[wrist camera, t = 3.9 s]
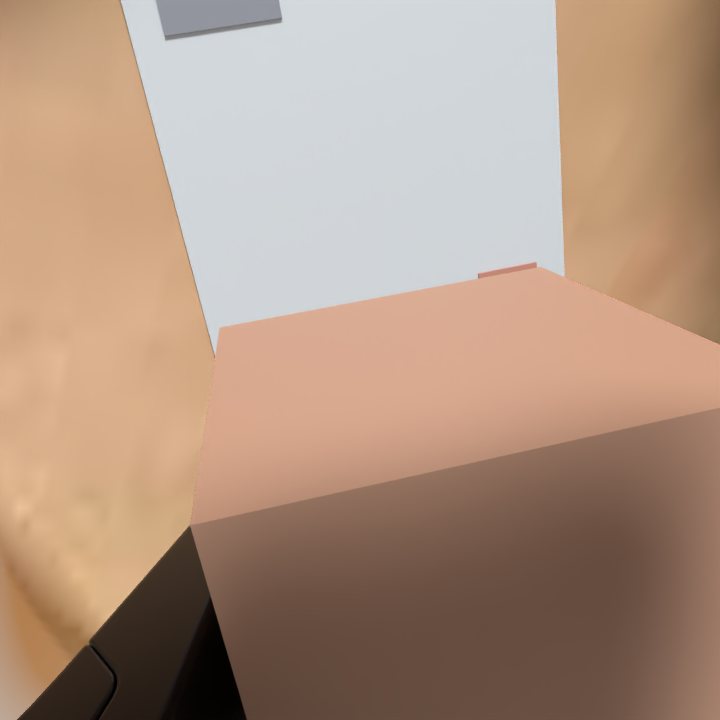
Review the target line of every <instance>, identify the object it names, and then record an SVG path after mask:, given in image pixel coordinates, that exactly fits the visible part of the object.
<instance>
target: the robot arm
mask: <svg viewBox="0 0 720 720" xmlns="http://www.w3.org/2000/svg"><path fill="white" fill-rule="evenodd" d="M17 720H247V718H246V715H245V711H244V708H243V704H242V701H241V697H240V694H239V691H238V687H237V684H236V680H235V677H234V674H233V670H232V667H231V663H230V660H229V657H228V653H227V650H226V646H225V643H224V640H223V636H222V633H221V629H220V626H219V623H218V619H217V616H216V612H215V609H214V606H213V602H212V599H211V595H210V592H209V588H208V585H207V582H206V578H205V575H204V571H203V568H202V565H201V561H200V558H199V554H198V551H197V548H196V544H195V541H194V537H193V534H192V531H191V527H190V526H189V527H188V528H187V529H186V530H185V531H184V532H183V534H182V535H181V536H180V537H179V538H178V539H177V540H176V542H175V543H174V544H173V545H172V546H171V547H170V549H169V550H168V551H167V552H166V553H165V554H164V555H163V557H162V558H161V559H160V560H159V561H158V562H157V563H156V565H155V566H154V567H153V568H152V569H151V570H150V572H149V573H148V574H147V575H146V576H145V577H144V578H143V580H142V581H141V582H140V583H139V584H138V585H137V586H136V588H135V589H134V590H133V591H132V592H131V593H130V594H129V596H128V597H127V598H126V599H125V600H124V601H123V603H122V604H121V605H120V606H119V607H118V608H117V609H116V611H115V612H114V613H113V614H112V615H111V616H110V617H109V619H108V620H107V621H106V622H105V623H104V624H103V625H102V627H101V628H100V629H99V630H98V631H97V632H96V634H95V635H94V636H93V637H92V638H91V639H90V641H89V645H85V646H84V647H83V648H82V649H81V650H80V652H79V653H78V654H77V655H76V656H75V657H74V658H73V660H72V661H71V662H70V663H69V664H68V665H67V666H66V668H65V669H64V670H63V671H62V672H61V673H60V674H59V675H58V676H57V678H56V679H55V680H54V681H53V682H52V683H51V684H50V685H49V687H47V689H46V690H45V691H44V692H43V693H42V694H41V695H40V696H39V697H38V698H37V700H36V701H35V702H34V703H33V704H32V705H31V706H30V707H29V708H28V709H27V710H26V711H25V712H24V713H23V714H22V715H21V716H20V717H19V718H18V719H17Z"/></svg>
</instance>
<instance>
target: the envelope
mask: <svg viewBox="0 0 720 720" xmlns="http://www.w3.org/2000/svg"><path fill="white" fill-rule="evenodd" d="M121 4H122V7H123V11H124V15H125V19H126V23H127V26H128V30H129V34H130V38H131V41H132V45H133V49H134V53H135V56H136V60H137V64H138V68H139V72H140V75H141V79H142V83H143V87H144V90H145V94H146V98H147V102H148V105H149V109H150V113H151V117H152V121H153V124H154V128H155V132H156V136H157V139H158V143H159V147H160V151H161V154H162V158H163V162H164V166H165V170H166V173H167V177H168V181H169V185H170V188H171V192H172V196H173V200H174V203H175V207H176V211H177V215H178V219H179V222H180V226H181V230H182V234H183V237H184V241H185V245H186V249H187V252H188V256H189V260H190V264H191V268H192V271H193V275H194V279H195V283H196V286H197V290H198V294H199V298H200V301H201V305H202V309H203V313H204V317H205V320H206V324H207V328H208V332H209V335H210V339H211V343H212V347H213V350H214V354H215V355H216V348H217V342H218V335H219V328H220V327H225V326H230V325H235V324H241V323H246V322H251V321H257V320H262V319H267V318H272V317H278V316H283V315H288V314H294V313H299V312H304V311H310V310H315V309H320V308H325V307H331V306H336V305H341V304H347V303H352V302H357V301H363V300H368V299H373V298H378V297H384V296H389V295H394V294H400V293H405V292H410V291H416V290H421V289H426V288H431V287H437V286H442V285H447V284H453V283H458V282H463V281H469V280H474V279H479V278H484V277H490V276H495V275H500V274H506V273H511V272H516V271H522V270H527V269H532V268H538V267H542V268H544V269H547V270H549V271H551V272H554V273H556V274H558V275H561V276H563V277H564V249H563V219H562V189H561V159H560V130H559V100H558V70H557V41H556V11H555V0H121Z"/></svg>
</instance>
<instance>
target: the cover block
mask: <svg viewBox="0 0 720 720" xmlns="http://www.w3.org/2000/svg"><path fill="white" fill-rule="evenodd" d="M190 527H191V531H192V534H193V537H194V541H195V544H196V548H197V551H198V554H199V558H200V561H201V565H202V568H203V571H204V575H205V578H206V582H207V585H208V588H209V592H210V595H211V599H212V602H213V606H214V609H215V612H216V616H217V619H218V623H219V626H220V629H221V633H222V636H223V640H224V643H225V646H226V650H227V653H228V657H229V660H230V663H231V667H232V670H233V674H234V677H235V680H236V684H237V687H238V691H239V694H240V697H241V701H242V704H243V708H244V711H245V715H246V718H247V720H720V345H719V344H717V343H715V342H713V341H710V340H708V339H706V338H703V337H701V336H699V335H696V334H694V333H692V332H690V331H687V330H685V329H683V328H680V327H678V326H676V325H673V324H671V323H669V322H666V321H664V320H662V319H660V318H657V317H655V316H653V315H650V314H648V313H646V312H643V311H641V310H639V309H637V308H634V307H632V306H630V305H627V304H625V303H623V302H620V301H618V300H616V299H614V298H611V297H609V296H607V295H604V294H602V293H600V292H597V291H595V290H593V289H590V288H588V287H586V286H584V285H581V284H579V283H577V282H574V281H572V280H570V279H567V278H565V277H563V276H561V275H558V274H556V273H554V272H551V271H549V270H547V269H544V268H542V267H538V268H532V269H527V270H522V271H516V272H511V273H506V274H500V275H495V276H490V277H484V278H479V279H474V280H469V281H463V282H458V283H453V284H447V285H442V286H437V287H431V288H426V289H421V290H416V291H410V292H405V293H400V294H394V295H389V296H384V297H378V298H373V299H368V300H363V301H357V302H352V303H347V304H341V305H336V306H331V307H325V308H320V309H315V310H310V311H304V312H299V313H294V314H288V315H283V316H278V317H272V318H267V319H262V320H257V321H251V322H246V323H241V324H235V325H230V326H225V327H220V328H219V335H218V342H217V348H216V355H215V362H214V368H213V375H212V382H211V388H210V395H209V402H208V408H207V415H206V422H205V429H204V435H203V442H202V449H201V455H200V462H199V469H198V475H197V482H196V489H195V495H194V502H193V509H192V516H191V522H190Z"/></svg>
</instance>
